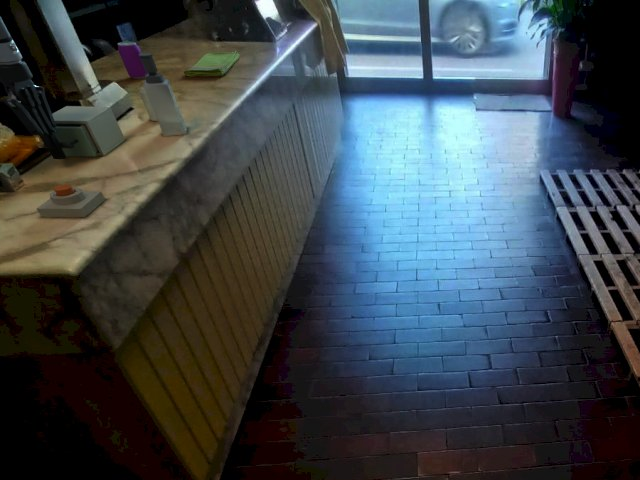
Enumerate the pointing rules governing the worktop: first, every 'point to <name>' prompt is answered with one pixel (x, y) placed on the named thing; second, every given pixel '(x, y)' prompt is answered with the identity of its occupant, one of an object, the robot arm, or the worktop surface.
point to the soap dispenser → (162, 99)
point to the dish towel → (213, 65)
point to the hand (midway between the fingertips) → (60, 158)
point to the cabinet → (94, 125)
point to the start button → (64, 190)
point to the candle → (147, 104)
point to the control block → (71, 204)
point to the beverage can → (132, 59)
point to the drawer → (75, 140)
